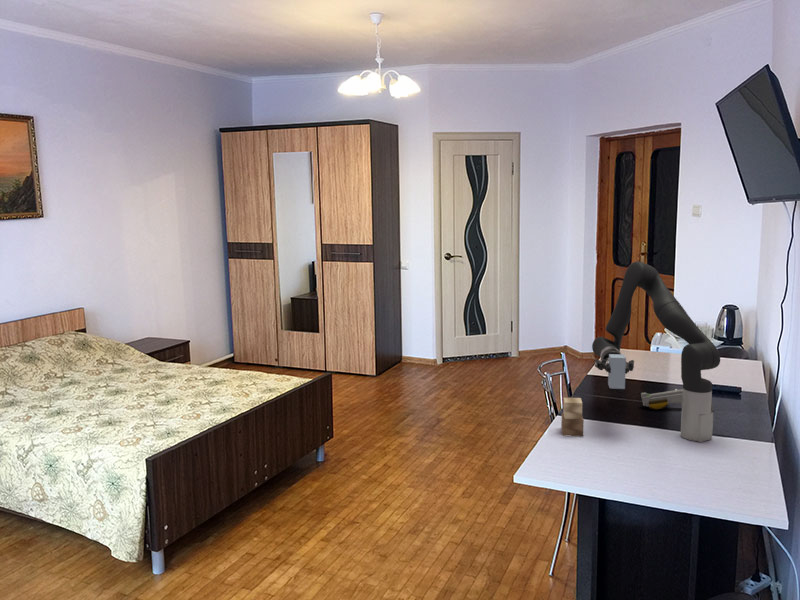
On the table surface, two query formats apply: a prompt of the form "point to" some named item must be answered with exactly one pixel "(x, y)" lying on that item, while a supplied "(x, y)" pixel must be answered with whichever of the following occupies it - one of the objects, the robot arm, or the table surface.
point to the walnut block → (572, 426)
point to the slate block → (617, 371)
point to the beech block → (572, 408)
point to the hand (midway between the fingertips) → (618, 370)
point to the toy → (663, 399)
